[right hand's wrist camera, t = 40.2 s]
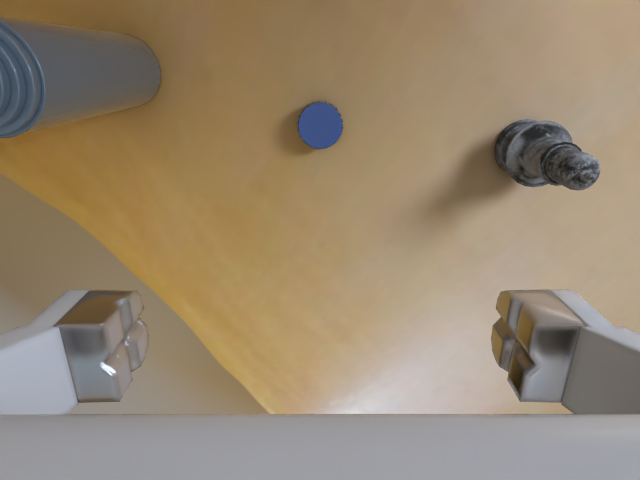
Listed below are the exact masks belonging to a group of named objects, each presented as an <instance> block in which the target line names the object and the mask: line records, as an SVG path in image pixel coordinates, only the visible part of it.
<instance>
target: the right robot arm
mask: <svg viewBox="0 0 640 480" xmlns="http://www.w3.org/2000/svg"><path fill="white" fill-rule="evenodd" d="M143 309H144V305H143V301H142V296H141V294H140V293H139V292H138V291H130V290H92V289H84V290H67V291H66V292H64V293H63V294H62V295H61V296H60V297H59V298H58V299H56V300H55V301H54V302H53V303H52V304H51V305H50V306H49V307H47V308H46V309H45V310H44V311H43V312H42V313H41V314H40V315H38V316H37V317H36V318H35V319H34V320H33V321H32V322H30V323H29V324H28V325H27V326H26V327H16V328H14V329H11V330H9V331H6V332H3V333H1V334H0V480H640V334H639V333H637V332H634V331H631V330H629V329H626V328H624V327H614V326H613V325H612V324H611V323H610V322H609V321H607V320H606V319H605V318H604V317H603V316H602V315H601V314H599V313H598V312H597V311H596V310H595V309H594V308H593V307H592V306H590V305H589V304H588V303H587V302H586V301H585V300H584V299H583V298H581V297H580V296H579V295H578V294H577V293H576V292H575V291H573V290H569V289H562V290H512V291H502V292H500V295H499V297H498V299H497V305H496V309H497V311H498V313H499V314H500V316H501V318H500V319H499V320H498V321H497V322H496V323H495V324H494V325H493V329H492V337H491V341H492V351H493V354H494V357H495V360H496V361H497V363H498V365H499V367H501V368H503V369H504V370H506V371H508V372H509V373H508V379H507V380H508V382H509V384H510V385H511V387H512V389H513V390H514V392H515V394H516V395H517V397H518V399H519V400H520V402H556V403H562V405H563V406H564V407H566V408H567V409H568V410H570V411H571V412H573V413H574V414H66V413H68V412H69V411H70V410H72V409H73V408H74V407H76V406H77V405H78V403H83V402H119V401H120V400H121V399H122V397H123V395H124V394H125V392H126V390H127V389H128V387H129V385H130V384H131V382H132V380H133V379H132V373H131V372H132V371H134V370H136V369H137V368H139V367H141V365H142V363H143V361H144V360H145V358H146V354H147V349H148V329H147V325H146V324H145V323H144V322H143V321H142V320H141V319H140V318H139V316H140V314H141V313H142V311H143Z"/></svg>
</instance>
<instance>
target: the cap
mask: <svg viewBox="0 0 640 480" xmlns="http://www.w3.org/2000/svg"><path fill="white" fill-rule="evenodd" d="M340 116H341V115H340V113H339V112H338V111H337V108H335V107H334V106H332V104H329V103H326V102H320V101H319V102H313V103H312V104H310V105H307V107H306V108H305V109H304V110H303V111H302V113H301V115H300V116H299V121H298V131H299V134H300V137H301V138H302V139H303V141H304V142H305V143H306V144H308V145H309V146H311V147H313V148H318V149H323V148H327V147H330V146H332V145H333V144H334V143H335V142H336V141H337V140H338V139H339V137H340V135H341V132H342V129H343V127H342V122H343V121H342V119H341V117H340Z"/></svg>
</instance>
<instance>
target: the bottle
mask: <svg viewBox="0 0 640 480" xmlns="http://www.w3.org/2000/svg"><path fill="white" fill-rule="evenodd" d="M160 81H161V71H160V66H159V63H158V60H157V58H156V56H155V54H154V53H153V51H152V50H151V49H150V48H149V47H148V45H147V44H145V43H144V42H143V41H141V40H140V39H138V38H136V37H134V36H131V35H128V34H122V33H115V32H108V31H102V30H95V29H88V28H81V27H74V26H67V25H60V24H53V23H46V22H39V21H32V20H25V19H19V18H12V17H5V16H0V138H9V137H14V136H18V135H22V134H26V133H30V132H35V131H39V130H43V129H47V128H51V127H55V126H59V125H63V124H67V123H72V122H76V121H80V120H84V119H88V118H92V117H96V116H100V115H104V114H109V113H113V112H117V111H121V110H125V109H129V108H133V107H137V106H141V105H144V104H146V103H147V102H149V101H150V100H151V99H152V98H153V97H154V96H155V94H156V93H157V91H158V89H159V86H160Z"/></svg>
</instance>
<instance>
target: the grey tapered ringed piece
mask: <svg viewBox="0 0 640 480" xmlns="http://www.w3.org/2000/svg"><path fill="white" fill-rule="evenodd" d="M495 157H496V161H497V163H498V164H499V166H500V167H501V168H502V169H503V170H504V171H506V172H508V173H509V174H510V175H511V177H512V178H513V179H514V180H515V181H516V182H518V183H520V184H522V185H524V186H529V187H538V186H543V185H546V184H551V185H556V186H558V185H563V186H565V187H567V188H569V189H572V190H583V189H586V188H588V187H590V186H592V185H593V184H594V183H595V182H596V180H597V179H598V177H599V174H600V164H599V162H598V161H597V160H596V159H595V158H594V157H593V156H592V155H590V154H587V153H584V152H582V151H581V149H580V148H579V147H578V146H577V145H575V144H573V143H572V138H571V136H570V135H569V133H568V131H567V130H566V129H565V128H564V127H563V126H561V125H559V124H557V123H555V122H550V121H540V122H537V121H534V120H520V121H517V122H515V123H513V124H511V125H510V126H508V127H507V128H506V129H505V130H504V131H503V132H502V133H501V135H500V136H499V138H498V140H497V143H496V146H495Z"/></svg>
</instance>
